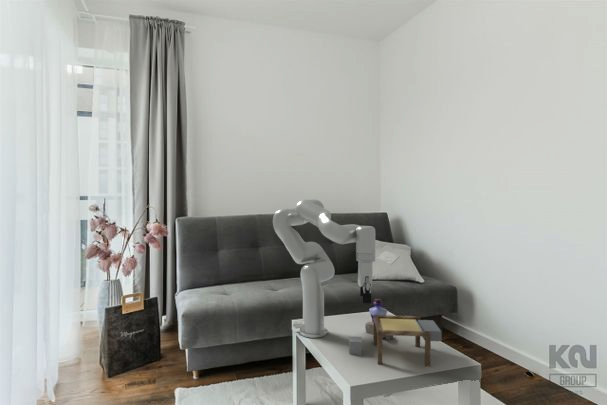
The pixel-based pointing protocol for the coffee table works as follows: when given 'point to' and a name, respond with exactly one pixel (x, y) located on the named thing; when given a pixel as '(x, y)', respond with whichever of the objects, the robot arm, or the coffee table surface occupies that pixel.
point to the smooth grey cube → (355, 345)
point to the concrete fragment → (370, 330)
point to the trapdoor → (413, 326)
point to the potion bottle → (377, 309)
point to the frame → (379, 332)
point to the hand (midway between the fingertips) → (365, 299)
